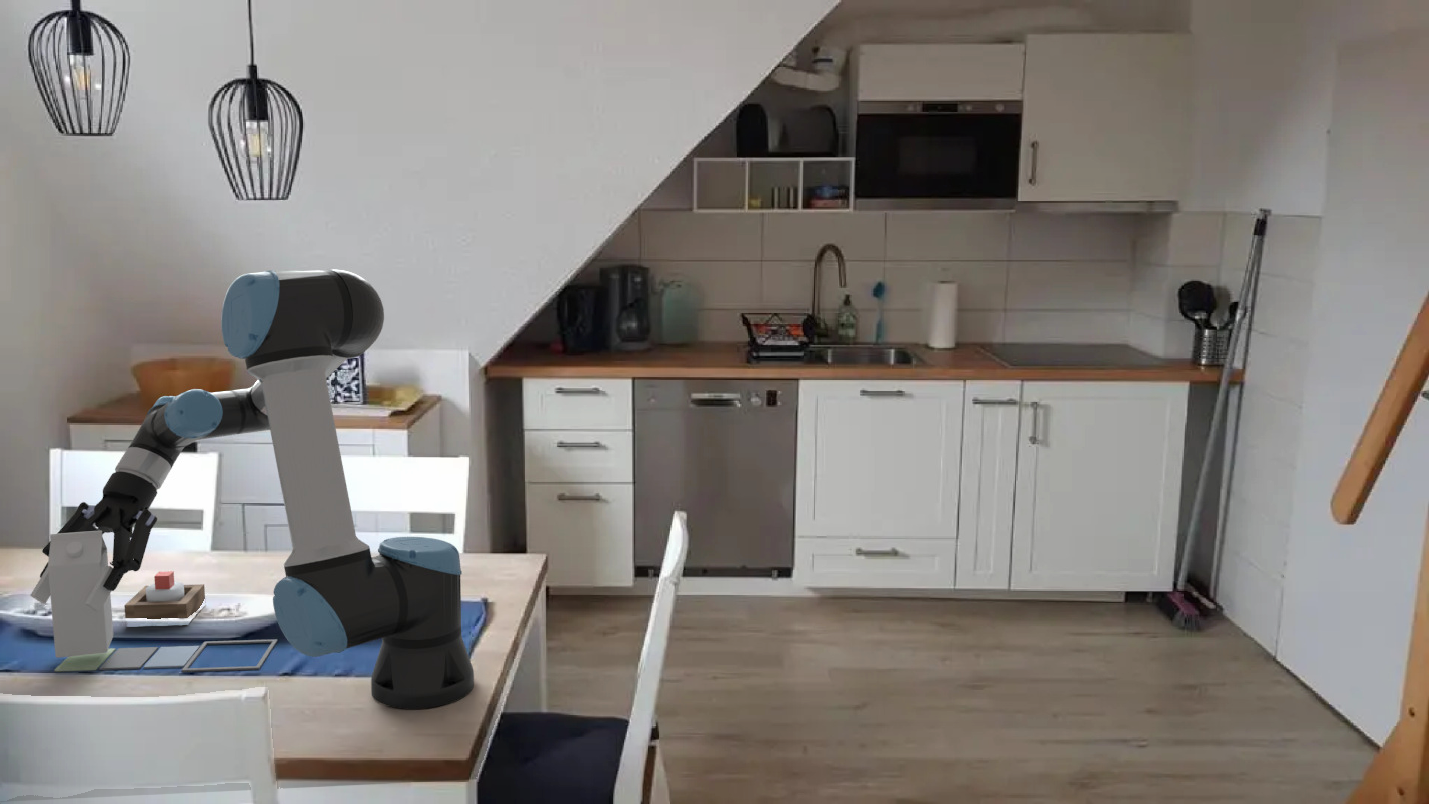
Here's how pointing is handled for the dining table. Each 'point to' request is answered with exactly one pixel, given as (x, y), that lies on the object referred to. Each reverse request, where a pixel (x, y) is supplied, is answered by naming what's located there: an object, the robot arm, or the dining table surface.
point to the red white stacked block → (165, 588)
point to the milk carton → (78, 594)
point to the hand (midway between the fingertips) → (64, 603)
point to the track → (154, 658)
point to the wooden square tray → (166, 604)
